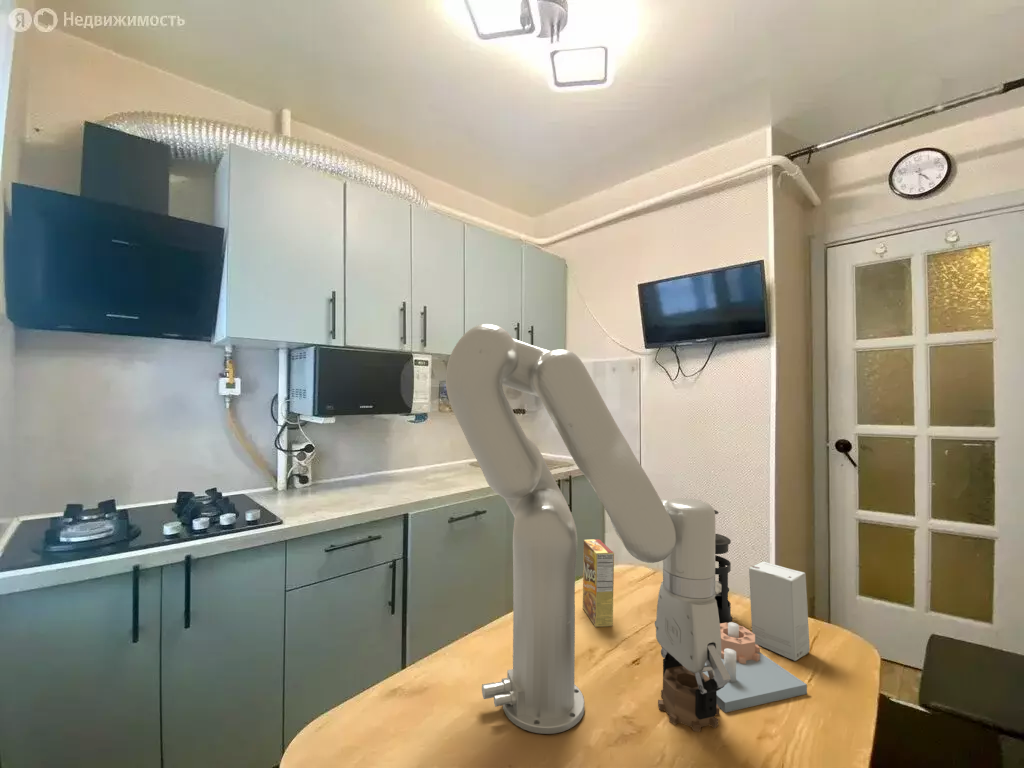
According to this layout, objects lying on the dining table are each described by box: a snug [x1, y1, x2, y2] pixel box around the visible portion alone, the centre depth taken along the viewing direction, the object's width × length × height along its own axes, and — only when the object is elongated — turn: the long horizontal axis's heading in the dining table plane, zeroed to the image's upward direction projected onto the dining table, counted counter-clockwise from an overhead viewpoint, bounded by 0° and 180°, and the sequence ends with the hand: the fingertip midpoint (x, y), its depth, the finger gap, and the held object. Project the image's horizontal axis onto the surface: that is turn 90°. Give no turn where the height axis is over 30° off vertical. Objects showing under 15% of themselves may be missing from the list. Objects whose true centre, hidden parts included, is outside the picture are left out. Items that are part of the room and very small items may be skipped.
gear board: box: [682, 621, 808, 713], centre depth 79 cm, size 16×16×6 cm
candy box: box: [582, 538, 615, 628], centre depth 99 cm, size 9×4×15 cm, turn 9°
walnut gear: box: [657, 666, 721, 733], centre depth 70 cm, size 8×8×4 cm
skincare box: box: [748, 561, 811, 662], centre depth 87 cm, size 8×6×15 cm
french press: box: [714, 509, 733, 623], centre depth 99 cm, size 12×9×23 cm
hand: (688, 698), depth 70 cm, fingers closed on walnut gear, 7 cm apart
